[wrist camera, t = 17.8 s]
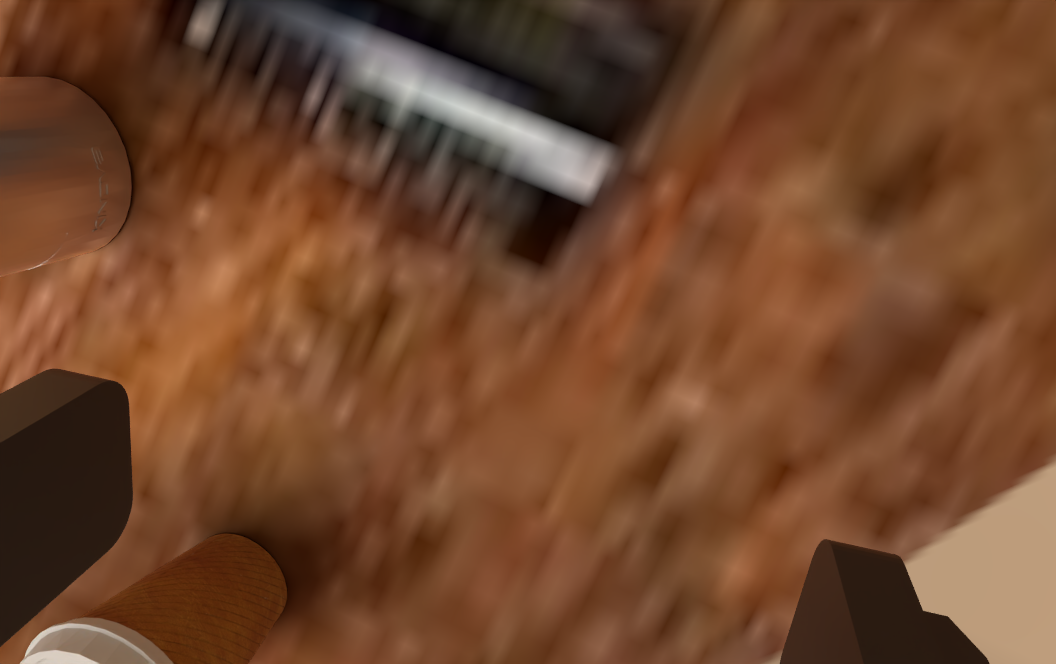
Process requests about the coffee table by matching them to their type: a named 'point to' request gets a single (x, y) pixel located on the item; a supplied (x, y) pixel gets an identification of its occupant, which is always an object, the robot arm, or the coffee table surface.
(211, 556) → the disposable coffee cup
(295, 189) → the coffee table surface
